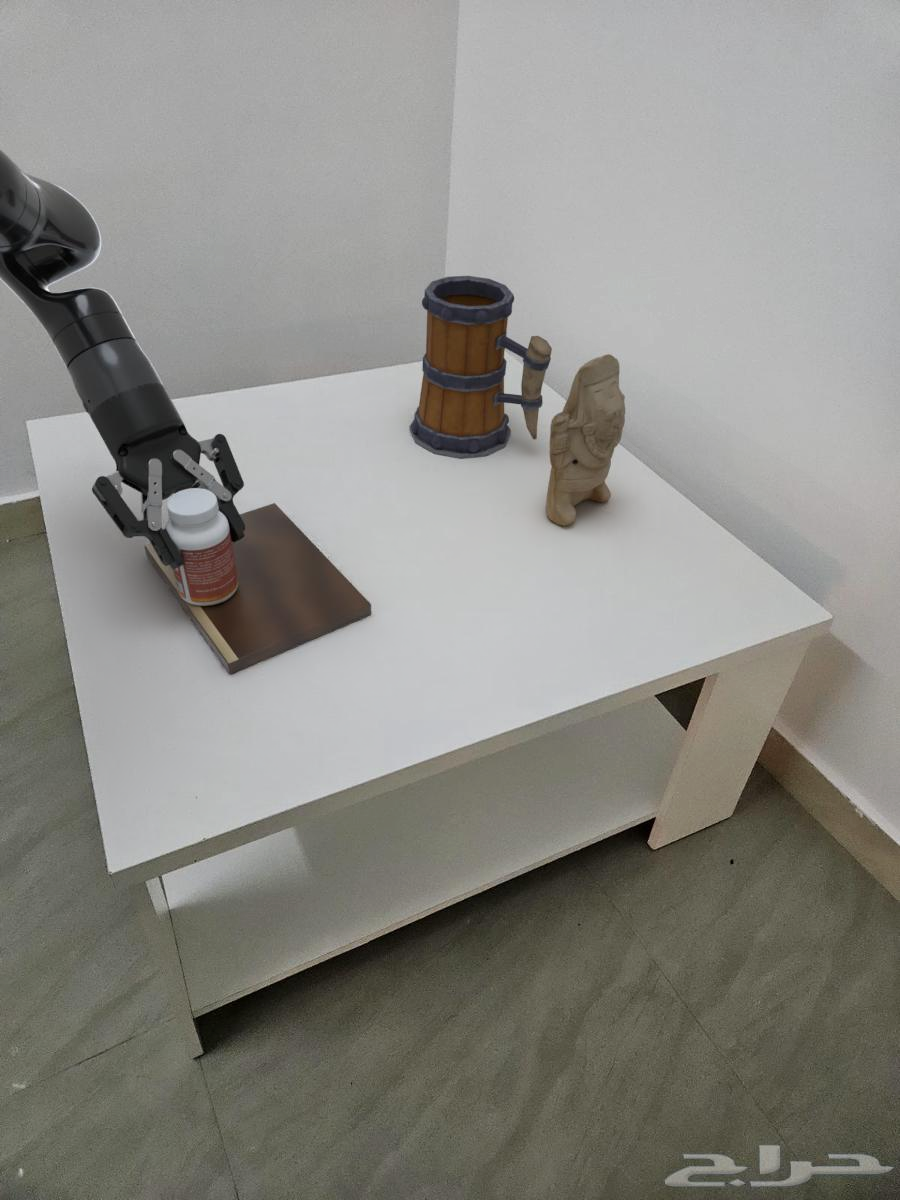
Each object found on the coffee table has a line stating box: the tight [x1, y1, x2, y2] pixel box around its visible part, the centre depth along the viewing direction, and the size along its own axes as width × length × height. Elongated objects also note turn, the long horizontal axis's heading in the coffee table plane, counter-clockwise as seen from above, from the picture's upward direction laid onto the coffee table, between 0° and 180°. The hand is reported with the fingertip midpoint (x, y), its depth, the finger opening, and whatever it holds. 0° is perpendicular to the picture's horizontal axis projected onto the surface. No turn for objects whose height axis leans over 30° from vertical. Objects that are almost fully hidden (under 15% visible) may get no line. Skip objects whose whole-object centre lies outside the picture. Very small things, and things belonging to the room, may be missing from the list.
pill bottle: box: [164, 488, 238, 606], centre depth 82 cm, size 6×6×11 cm
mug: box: [408, 275, 553, 459], centre depth 109 cm, size 19×14×20 cm
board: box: [143, 502, 372, 675], centre depth 88 cm, size 16×22×2 cm
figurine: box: [545, 353, 626, 527], centre depth 96 cm, size 13×7×20 cm, turn 131°
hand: (209, 552), depth 81 cm, fingers closed on pill bottle, 6 cm apart
